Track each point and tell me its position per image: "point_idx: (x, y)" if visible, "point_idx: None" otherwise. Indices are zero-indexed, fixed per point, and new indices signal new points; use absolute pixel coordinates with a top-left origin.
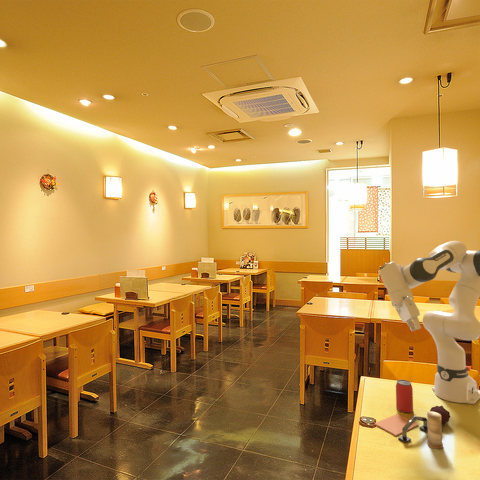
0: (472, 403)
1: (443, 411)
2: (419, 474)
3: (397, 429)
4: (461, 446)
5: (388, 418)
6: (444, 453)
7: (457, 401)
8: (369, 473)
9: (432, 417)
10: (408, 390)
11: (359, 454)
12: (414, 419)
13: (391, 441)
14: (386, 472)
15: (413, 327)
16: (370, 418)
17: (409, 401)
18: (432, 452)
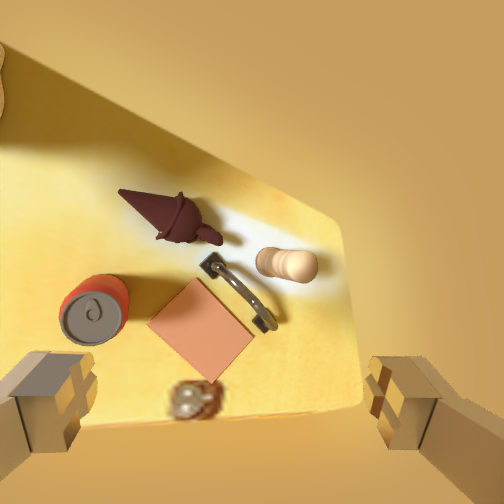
0: (3, 51)
1: (191, 210)
2: (350, 310)
3: (230, 331)
4: (264, 209)
5: (179, 349)
6: None
7: (1, 100)
8: (358, 385)
9: (315, 274)
10: (126, 301)
11: (319, 404)
12: (261, 303)
13: (271, 346)
14: (353, 359)
15: (70, 399)
16: (179, 393)
17: (125, 292)
18: None
